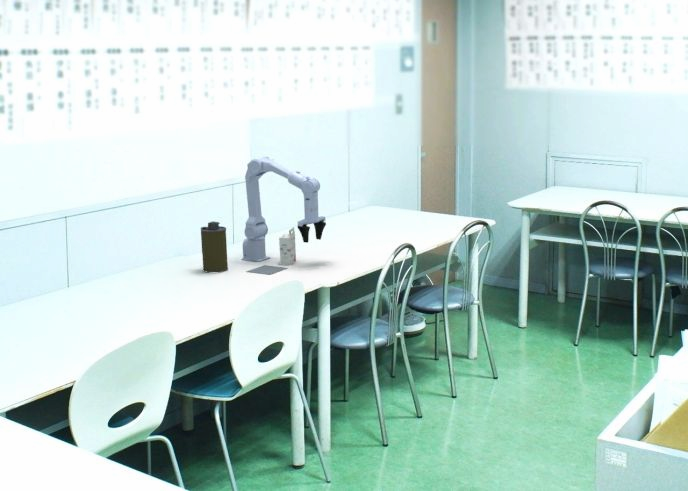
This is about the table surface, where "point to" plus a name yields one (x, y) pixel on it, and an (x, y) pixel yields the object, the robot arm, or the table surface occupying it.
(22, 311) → the table surface
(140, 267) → the table surface
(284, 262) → the ink cartridge box
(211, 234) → the canister
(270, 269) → the mat
